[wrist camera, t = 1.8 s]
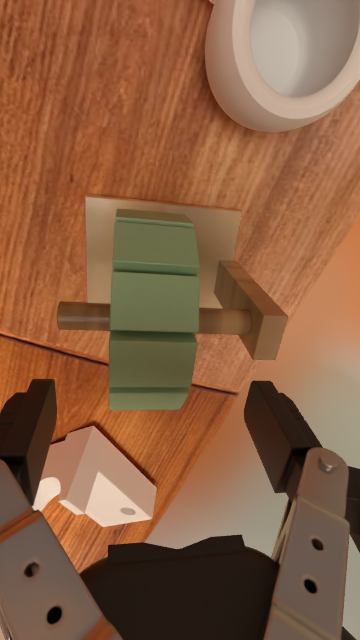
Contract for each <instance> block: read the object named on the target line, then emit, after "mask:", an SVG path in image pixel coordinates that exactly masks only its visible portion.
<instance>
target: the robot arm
mask: <svg viewBox="0 0 360 640" xmlns="http://www.w3.org/2000/svg"><path fill="white" fill-rule="evenodd" d="M56 419H57V405H56V392H55V381H54V379H33V380H32V381H31V383H30V386H29V388H28V390H27V393H15V394H14V395H13V396H12V397H11V398H10V399H9V400H8V401H7V402H6V403H5V405H4V407H3V409H2V411H1V413H0V627H1V629H2V632H3V635H4V638H5V640H356V639H355V638H354V637H353V636H352V635H351V634H350V633H349V632H348V631H347V630H346V629H345V628H344V627H343V626H342V621H343V608H344V596H345V583H346V570H347V558H348V545H349V533H350V535H351V537H352V539H353V541H354V543H355V545H356V546H357V548H358V550H359V552H360V469H357V468H353V467H349V466H347V465H346V463H345V461H344V460H343V459H342V458H341V457H340V456H339V455H337V454H336V453H334V452H333V451H331V450H328V449H326V448H323V447H322V445H321V444H320V442H319V441H318V439H317V438H316V436H315V435H314V433H313V432H312V430H311V429H310V427H309V425H308V424H307V422H306V421H305V420H304V418H303V416H302V415H301V413H300V412H299V410H298V408H297V407H296V405H295V404H294V402H293V401H292V400H291V399H290V398H288V397H287V396H286V395H285V394H284V393H278V391H277V390H276V388H275V386H274V385H273V383H272V382H271V381H252V383H251V385H250V389H249V393H248V397H247V400H246V404H245V408H244V419H245V423H246V425H247V428H248V430H249V433H250V435H251V437H252V440H253V442H254V444H255V447H256V449H257V452H258V454H259V456H260V459H261V461H262V463H263V466H264V468H265V471H266V473H267V475H268V478H269V480H270V482H271V484H272V487H273V489H274V492H275V493H284V492H285V493H287V495H288V498H289V499H288V502H287V505H286V508H285V512H284V515H283V518H282V522H281V526H280V529H279V533H278V536H277V540H276V543H275V547H274V550H273V553H272V556H271V558H270V557H269V556H267V555H265V554H264V553H262V552H260V551H258V550H255V549H253V548H250V547H246V546H245V545H244V541H243V538H242V535H231V536H220V537H219V536H218V537H210V538H207V539H205V540H202V541H200V542H197V543H194V544H192V545H190V546H187V547H184V548H182V549H173V548H167V547H162V546H157V545H153V544H148V543H130V544H118V545H108V557H106V558H103V559H101V560H99V561H97V562H95V563H93V564H91V565H90V566H88V567H87V568H86V569H84V570H83V571H82V572H81V573H79V574H78V572H77V570H76V569H75V567H74V565H73V564H72V562H71V560H70V559H69V557H68V555H67V554H66V552H65V550H64V549H63V547H62V545H61V544H60V542H59V541H58V539H57V537H56V536H55V534H54V532H53V531H52V529H51V527H50V526H49V524H48V522H47V521H46V519H45V517H44V516H43V514H42V513H41V512H40V511H39V510H36V511H35V510H34V509H33V508H32V506H34V502H35V498H36V495H37V491H38V487H39V484H40V480H41V476H42V473H43V469H44V465H45V462H46V458H47V454H48V451H49V447H50V443H51V440H52V436H53V433H54V429H55V425H56Z"/></svg>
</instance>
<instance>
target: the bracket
mask: <svg viewBox="0 0 360 640" xmlns="http://www.w3.org/2000/svg"><path fill="white" fill-rule="evenodd" d="M156 490H157V488H156V487H155V486H154V485H153V484H152V483H151V482H150V481H149V480H148V479H147V478H146V477H145V476H144V475H143V474H142V473H141V472H140V471H139V470H138V469H137V468H136V467H135V466H134V465H133V464H132V463H131V462H130V461H129V460H128V459H127V458H126V457H125V456H124V455H123V454H122V453H121V452H120V451H119V450H118V449H117V448H116V447H115V446H114V445H113V444H112V443H111V442H110V441H109V440H108V439H107V438H106V437H105V436H104V435H103V434H102V433H101V432H100V431H99V430H98V429H97V428H96V427H95V426H90V427H87V428H84V429H80V430H77V431H74V432H70V433H68V434H67V436H66V439H65V441H62V442H59V443H55V444H52V445H50V447H49V451H48V454H47V458H46V462H45V465H44V469H43V473H42V476H41V480H40V484H39V487H38V491H37V495H36V498H35V502H34V506H32V508H33V509H34V510H35V511H36V510H39V511H40V512H41V511H42V509H43V508H44V507H45V506H46V504H47V503H48V502H49V501H50V500H51V499H52V498H54V497H55V496H56V495H58V494H60V496H59V499H58V502H60V503H61V504H62V505H64V506H65V507H66V508H68V509H69V510H70V511H72V512H73V513H74V514H76V515H80V514H87V515H88V516H89V517H91V518H92V519H93V520H94V521H96V522H97V523H98V524H100V525H101V526H102V527H106V526H112V525H118V524H124V523H130V522H137V521H143V520H149V519H152V516H153V510H154V503H155V496H156Z"/></svg>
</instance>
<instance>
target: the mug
mask: <svg viewBox="0 0 360 640" xmlns="http://www.w3.org/2000/svg"><path fill="white" fill-rule="evenodd" d="M209 1H210V2H211V3H213V4H214V6H213V9H212V13H211V16H210V20H209V23H208V28H207V34H206V41H205V65H206V73H207V78H208V82H209V85H210V88H211V91H212V94H213V95H214V97H215V99H216V101H217V103H218V104H219V106H220V107H221V109H222V110H223V111H224V112H225V113H226V114H227V115H228V116H229V117H230V118H231V119H232V120H234V121H235V122H237V123H238V124H240V125H242V126H244V127H246V128H249V129H252V130H256V131H260V132H284V131H289V130H294V129H297V128H300V127H303V126H306V125H308V124H310V123H312V122H314V121H316V120H318V119H320V118H322V117H323V116H325V115H327V114H328V113H329V112H331V111H332V110H333V109H335V108H336V107H337V106H338V105H339V104H340V103H341V102H342V101H343V100H344V99H345V98H346V97H347V96H348V95H349V93H350V92H351V91H352V90H353V88H354V87H355V86H356V84H357V83H358V81H359V80H360V0H209Z"/></svg>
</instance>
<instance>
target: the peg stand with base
mask: <svg viewBox="0 0 360 640" xmlns="http://www.w3.org/2000/svg"><path fill="white" fill-rule="evenodd" d="M118 208H119V209H130V210H140V211H151V212H162V213H172V214H183V215H186V216H187V217H188V218H189V219H190V220H191V221H192V223H193V224H194V225H193V228H194V229H195V234H196V242H197V250H198V258H199V266H200V267H199V270H198V273H197V276H198V277H200V295H199V331H198V332H197V334H231V335H239V337H240V339H241V340H242V342H243V344H244V345H245V347H246V349H247V351H248V352H249V354H250V356H251V357H252V359H253V360H275V359H276V356H277V353H278V350H279V346H280V343H281V340H282V336H283V333H284V330H285V326H286V323H287V319H288V316H287V314H286V313H285V312H284V311H283V310H282V309H281V308H280V307H279V306H278V305H277V304H276V303H275V302H274V301H273V300H272V299H271V298H270V297H269V296H268V295H267V293H266V292H265V291H264V290H263V289H262V288H261V287H260V286H259V285H258V284H257V283H256V282H255V281H254V280H253V279H252V278H251V277H250V276H249V275H248V274H247V272H246V271H245V270H244V269H243V268H242V267H241V266H240V265H239V264H238V263H237V262H236V261H233V259H234V253H235V248H236V243H237V238H238V232H239V227H240V222H241V217H242V211H240V210H238V209H231V208H221V207H211V206H200V205H190V204H180V203H170V202H160V201H150V200H140V199H130V198H120V197H110V196H100V195H90V194H87V195H86V196H85V231H86V280H87V303H86V302H63V301H61V302H60V303H59V305H58V311H57V324H58V328H59V329H62V330H96V331H110V304H111V278H112V258H113V243H114V228H115V217H116V212H117V209H118Z"/></svg>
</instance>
